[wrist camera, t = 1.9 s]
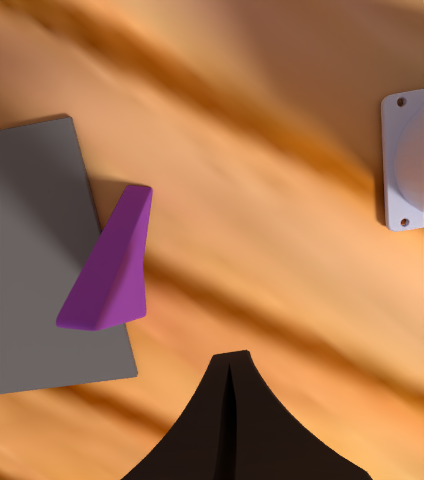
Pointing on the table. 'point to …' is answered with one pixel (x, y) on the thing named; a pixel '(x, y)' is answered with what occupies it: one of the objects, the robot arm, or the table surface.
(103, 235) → the arrowhead
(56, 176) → the mat
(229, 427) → the robot arm
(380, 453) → the table surface
